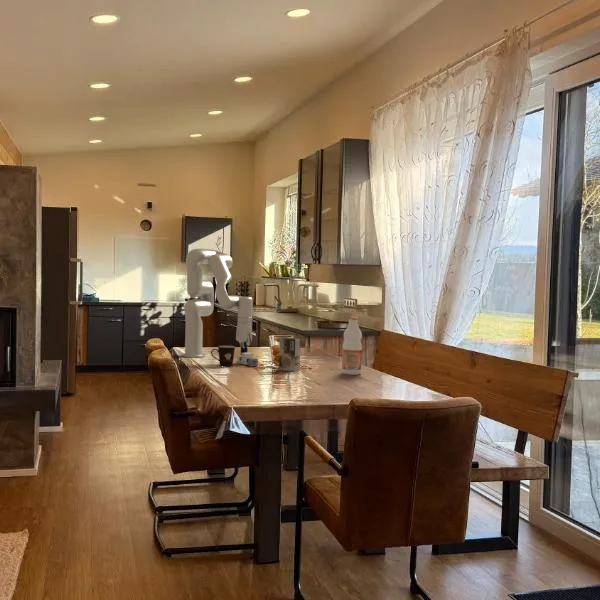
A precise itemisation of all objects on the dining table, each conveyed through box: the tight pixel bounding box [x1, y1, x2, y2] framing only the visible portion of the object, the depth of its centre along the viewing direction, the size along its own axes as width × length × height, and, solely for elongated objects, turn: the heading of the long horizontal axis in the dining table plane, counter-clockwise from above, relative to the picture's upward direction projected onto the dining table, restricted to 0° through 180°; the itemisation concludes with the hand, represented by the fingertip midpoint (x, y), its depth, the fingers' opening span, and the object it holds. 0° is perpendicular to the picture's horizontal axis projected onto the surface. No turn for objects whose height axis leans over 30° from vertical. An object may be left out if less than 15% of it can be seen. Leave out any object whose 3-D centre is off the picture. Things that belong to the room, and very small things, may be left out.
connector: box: [248, 357, 259, 367], centre depth 370 cm, size 2×4×4 cm, turn 121°
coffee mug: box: [210, 345, 236, 368], centre depth 368 cm, size 12×9×10 cm
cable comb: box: [235, 355, 241, 364], centre depth 382 cm, size 1×6×4 cm, turn 121°
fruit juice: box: [341, 316, 363, 376], centre depth 357 cm, size 9×9×28 cm
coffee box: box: [278, 336, 301, 372], centre depth 362 cm, size 9×6×16 cm
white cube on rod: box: [240, 352, 254, 366], centre depth 376 cm, size 4×4×6 cm
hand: (243, 355), depth 379 cm, fingers closed
